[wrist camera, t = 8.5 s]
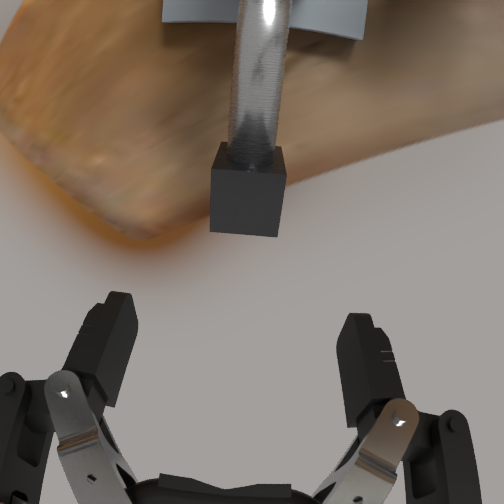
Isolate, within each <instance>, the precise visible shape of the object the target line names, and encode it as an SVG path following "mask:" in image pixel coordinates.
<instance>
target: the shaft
mask: <svg viewBox="0 0 504 504" xmlns="http://www.w3.org/2000/svg"><path fill="white" fill-rule="evenodd" d="M291 8H292V0H239V7H238V17H237V28H236V39H235V50H234V62H233V74H232V87H231V101H230V115H229V130H228V142H221V144H220V147H219V150H218V152H217V155H216V158H215V160H214V163H213V166H212V168H211V196H210V232H221V233H232V234H245V235H256V236H267V237H277V236H278V229H279V223H280V216H281V210H282V203H283V197H284V190H285V184H286V177H287V174H286V169H285V164H284V159H283V153H282V148H281V147H279V146H275V144H276V136H277V128H278V120H279V111H280V103H281V95H282V86H283V78H284V69H285V61H286V52H287V43H288V34H289V26H290V17H291Z"/></svg>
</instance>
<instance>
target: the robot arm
mask: <svg viewBox="0 0 504 504" xmlns="http://www.w3.org/2000/svg"><path fill="white" fill-rule="evenodd" d="M137 332H138V319H137V315H136V311H135V307H134V303H133V298H132V295H131V294H130V293H124V292H116V291H111V292H110V293H109V294H108V297H107V299H106V301H105V303H104V304H101V303H97V304H96V305H95V306H94V307H93V308H92V309H91V310H90V311H89V312H88V314H87V316H86V318H85V320H84V322H83V325H82V326H81V328H80V331H79V334H78V335H77V337H76V339H75V341H74V343H73V346H72V348H71V350H70V352H69V355H68V357H67V359H66V362H65V364H64V366H63V368H62V369H61V370H60V371H57V372H55V373H53V374H52V375H50V376H49V378H48V379H46V380H32V381H25V380H24V379H23V378H22V377H21V375H19V374H18V373H15V372H8V373H5V374H3V375H2V376H1V377H0V504H39V500H40V495H41V489H42V483H43V478H44V473H45V468H46V463H47V459H48V454H49V450H50V446H51V442H52V437H53V434H54V432H56V434H57V437H58V440H59V446H58V447H57V452H58V456H59V459H60V461H61V464H62V467H63V469H64V472H65V474H66V477H67V479H68V481H69V484H70V486H71V488H72V490H73V493H74V495H75V497H76V499H77V502H78V504H383V503H384V501H385V499H386V498H387V496H388V494H389V493H390V491H391V489H392V487H393V486H394V484H395V481H396V479H397V474H396V473H395V472H396V469H397V466H398V465H399V462H400V461H403V467H404V479H405V491H406V504H482V500H481V491H480V484H479V477H478V471H477V465H476V459H475V454H474V449H473V444H472V439H471V434H470V430H469V425H468V422H467V420H466V418H465V416H464V415H463V414H461V413H460V412H459V411H456V410H448V411H445V412H444V413H443V414H442V415H440V416H437V415H432V414H428V413H423V412H419V411H417V409H416V407H415V406H414V405H413V404H412V403H411V402H410V401H408V400H406V398H405V395H404V391H403V387H402V383H401V379H400V376H399V372H398V369H397V365H396V362H395V358H394V354H393V353H392V348H391V344H390V341H389V338H388V337H387V335H386V334H385V333H384V331H383V330H382V329H381V328H374V325H373V321H372V318H371V316H370V314H367V313H349V315H348V316H347V319H346V321H345V324H344V326H343V328H342V330H341V332H340V335H339V337H338V340H337V346H336V349H337V359H338V365H339V371H340V378H341V384H342V391H343V398H344V405H345V413H346V420H347V427H348V428H350V427H357V431H358V435H357V436H356V437H355V439H354V440H353V442H352V443H351V445H350V446H349V448H348V450H347V451H346V452H345V454H344V456H343V457H342V458H341V460H340V461H339V463H338V464H337V466H336V467H335V468H334V470H333V471H332V472H331V474H330V475H329V476H328V477H327V478H326V479H325V480H324V481H323V482H322V484H321V485H320V486H319V487H318V489H317V490H316V491H315V492H314V494H313V495H312V496H309V495H307V494H305V493H302V492H299V491H297V490H292V489H291V484H256V485H250V486H245V487H239V488H233V489H221V488H218V487H215V486H212V485H209V484H206V483H203V482H200V481H198V480H195V479H192V478H185V477H179V476H173V475H167V474H161V473H160V476H159V478H157V479H149V480H145V481H142V482H138V480H137V479H136V477H135V475H134V473H133V472H132V470H131V469H130V467H129V465H128V463H127V462H126V461H125V459H124V458H123V456H122V454H121V452H120V450H119V448H118V446H117V444H116V443H115V440H114V438H113V436H112V434H111V431H110V429H109V427H108V425H107V423H106V420H105V418H104V416H103V412H104V408H105V405H106V406H110V407H115V404H116V401H117V397H118V394H119V390H120V387H121V384H122V380H123V377H124V374H125V371H126V367H127V364H128V361H129V358H130V355H131V352H132V349H133V346H134V342H135V339H136V336H137Z"/></svg>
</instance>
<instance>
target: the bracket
mask: <svg viewBox="0 0 504 504" xmlns="http://www.w3.org/2000/svg"><path fill="white" fill-rule="evenodd" d="M367 4H368V0H292V8H291V17H290V26H289V28H293V29H300V30H306V31H312V32H318V33H324V34H329V35H334V36H339V37H344V38H348V39H353V40H363V36H364V28H365V20H366V12H367ZM238 7H239V0H163V12H162V22H164V23H194V22H213V23H237V17H238Z"/></svg>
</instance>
